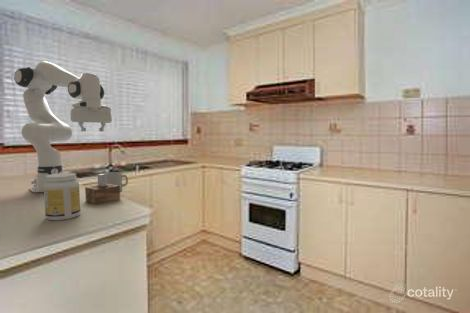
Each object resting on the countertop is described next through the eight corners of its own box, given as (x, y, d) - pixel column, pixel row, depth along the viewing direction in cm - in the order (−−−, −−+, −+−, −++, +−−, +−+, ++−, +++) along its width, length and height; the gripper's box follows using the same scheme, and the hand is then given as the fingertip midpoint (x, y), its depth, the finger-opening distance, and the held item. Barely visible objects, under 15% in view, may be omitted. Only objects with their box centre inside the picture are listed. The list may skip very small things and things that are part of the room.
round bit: (96, 196, 142) (95, 174, 141) (104, 195, 145) (103, 173, 144) (101, 197, 139) (100, 175, 138) (109, 196, 143) (108, 174, 142)
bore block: (85, 201, 141) (85, 187, 140) (109, 196, 150) (108, 183, 150) (96, 204, 135) (95, 189, 134) (120, 199, 144) (119, 185, 144)
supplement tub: (73, 210, 124) (71, 171, 122) (86, 216, 116) (84, 174, 115) (40, 217, 114) (38, 175, 113) (52, 223, 107) (49, 178, 105)
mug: (108, 194, 156) (107, 174, 156) (104, 191, 163) (103, 172, 162) (130, 191, 164) (129, 172, 163) (125, 189, 171) (125, 170, 170)
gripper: (107, 106, 161) (108, 131, 162) (68, 103, 144) (69, 131, 145) (113, 105, 157) (114, 131, 158) (74, 102, 141) (75, 131, 142)
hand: (92, 131), depth 152 cm, fingers open, 8 cm apart
